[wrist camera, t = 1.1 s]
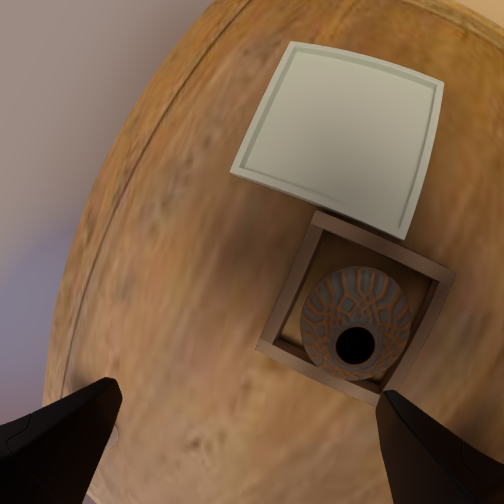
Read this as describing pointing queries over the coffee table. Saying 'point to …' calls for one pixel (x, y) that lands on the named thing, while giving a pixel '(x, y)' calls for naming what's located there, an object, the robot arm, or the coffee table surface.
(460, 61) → the coffee table surface
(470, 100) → the coffee table surface
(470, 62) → the coffee table surface
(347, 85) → the tray
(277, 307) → the holder
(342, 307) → the vase
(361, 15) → the coffee table surface
